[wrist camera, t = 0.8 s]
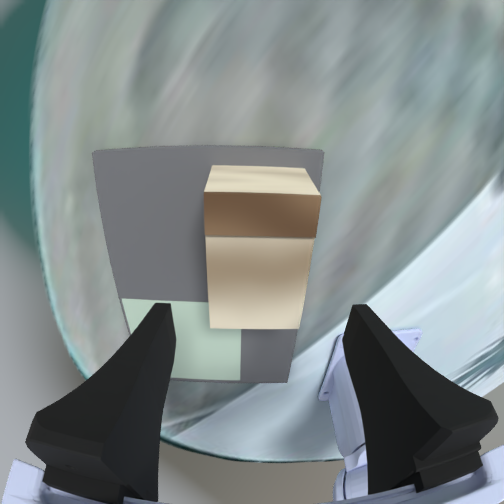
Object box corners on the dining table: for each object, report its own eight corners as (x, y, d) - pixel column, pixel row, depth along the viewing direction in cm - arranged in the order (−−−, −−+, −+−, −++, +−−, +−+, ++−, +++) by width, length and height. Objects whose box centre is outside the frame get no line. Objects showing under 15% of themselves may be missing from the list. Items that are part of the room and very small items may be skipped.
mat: (286, 378, 28) (287, 383, 27) (144, 373, 27) (143, 378, 26) (322, 150, 17) (324, 152, 17) (95, 150, 17) (91, 152, 16)
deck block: (290, 286, 21) (299, 331, 18) (214, 285, 21) (209, 330, 18) (304, 168, 17) (321, 196, 14) (212, 165, 17) (203, 193, 13)
